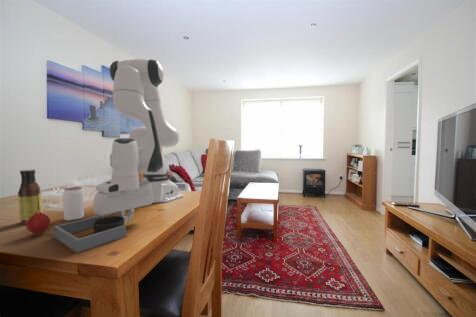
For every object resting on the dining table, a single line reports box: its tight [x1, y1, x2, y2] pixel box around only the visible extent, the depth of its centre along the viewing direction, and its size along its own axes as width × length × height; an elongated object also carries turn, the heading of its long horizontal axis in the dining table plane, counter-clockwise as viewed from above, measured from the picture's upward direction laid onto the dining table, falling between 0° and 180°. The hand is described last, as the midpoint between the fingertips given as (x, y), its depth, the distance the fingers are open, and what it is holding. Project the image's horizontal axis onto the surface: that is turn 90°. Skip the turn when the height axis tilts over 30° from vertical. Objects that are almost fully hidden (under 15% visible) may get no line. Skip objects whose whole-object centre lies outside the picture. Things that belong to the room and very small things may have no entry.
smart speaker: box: [93, 215, 125, 234], centre depth 75 cm, size 9×9×4 cm
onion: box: [25, 211, 51, 236], centre depth 71 cm, size 6×6×8 cm
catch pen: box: [53, 215, 127, 254], centre depth 70 cm, size 14×18×4 cm
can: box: [62, 186, 85, 222], centre depth 87 cm, size 6×6×12 cm
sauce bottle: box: [17, 168, 43, 225], centre depth 83 cm, size 7×6×20 cm
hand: (126, 221), depth 80 cm, fingers closed
